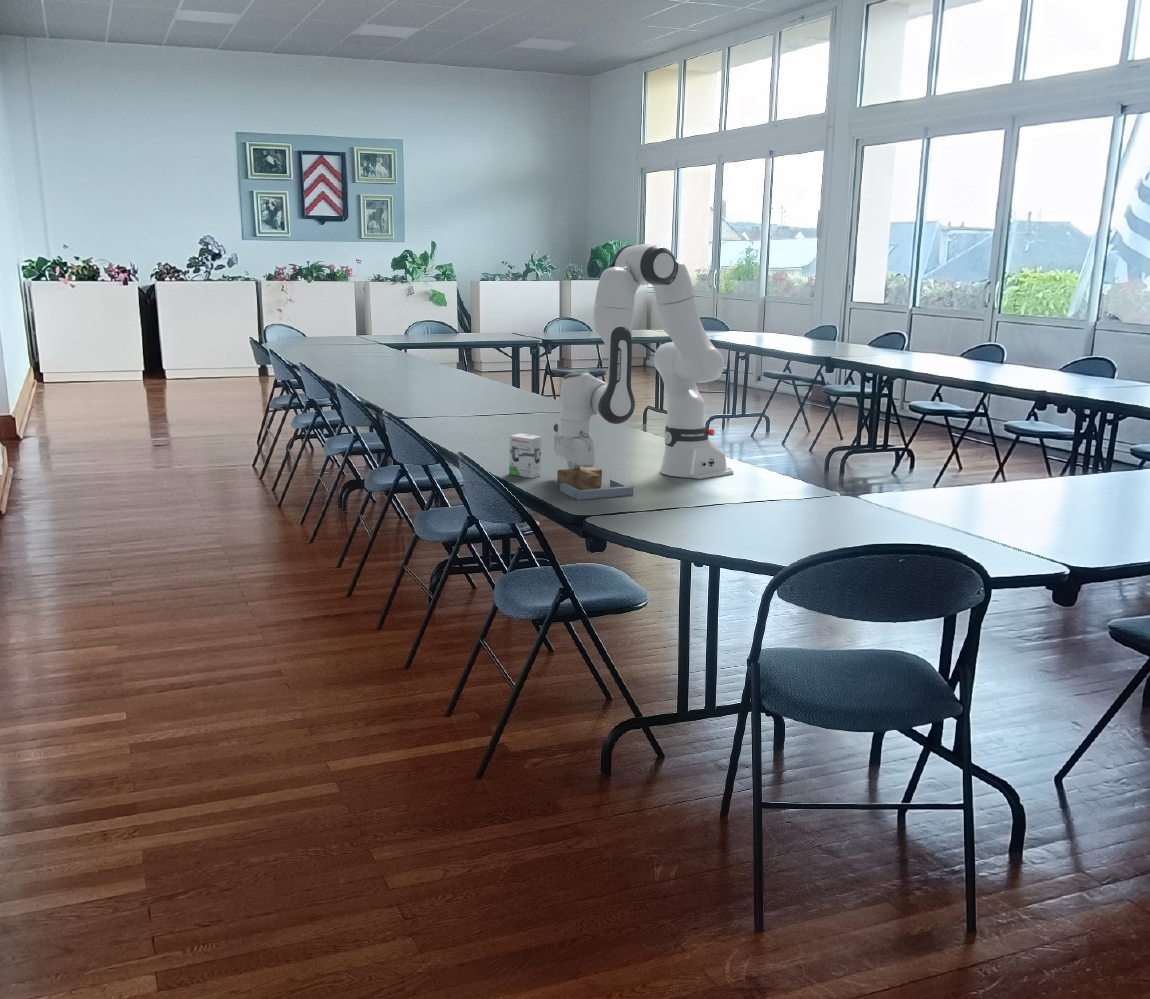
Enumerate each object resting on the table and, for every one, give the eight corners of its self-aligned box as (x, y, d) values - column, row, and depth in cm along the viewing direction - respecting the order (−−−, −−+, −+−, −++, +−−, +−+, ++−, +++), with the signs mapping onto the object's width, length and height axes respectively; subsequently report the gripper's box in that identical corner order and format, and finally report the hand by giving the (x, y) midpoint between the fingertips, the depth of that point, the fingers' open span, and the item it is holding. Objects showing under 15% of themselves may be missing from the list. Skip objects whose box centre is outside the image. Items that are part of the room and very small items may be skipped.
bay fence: (614, 486, 298) (614, 479, 298) (633, 494, 288) (633, 486, 288) (560, 491, 291) (560, 483, 290) (577, 499, 281) (577, 491, 281)
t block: (595, 482, 303) (595, 467, 302) (613, 490, 293) (613, 474, 292) (557, 485, 298) (557, 470, 297) (574, 493, 288) (574, 477, 287)
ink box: (508, 474, 311) (508, 435, 309) (517, 471, 315) (518, 432, 313) (531, 478, 307) (532, 438, 304) (541, 475, 311) (542, 436, 308)
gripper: (601, 434, 291) (599, 483, 294) (570, 423, 309) (568, 469, 312) (580, 435, 288) (579, 484, 291) (550, 424, 306) (549, 470, 309)
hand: (573, 476), depth 302 cm, fingers closed
